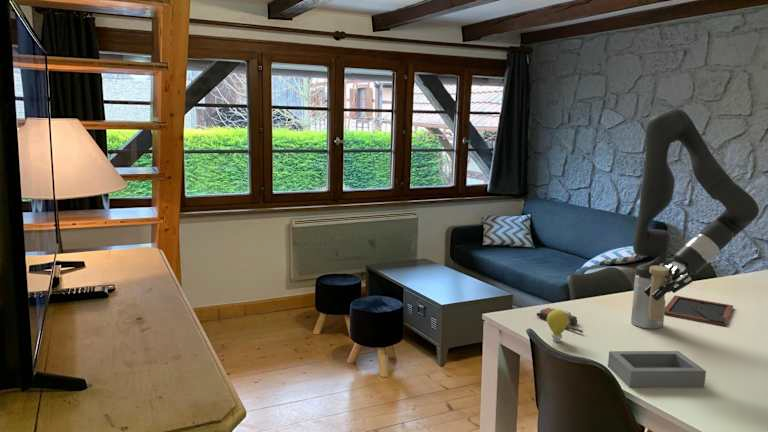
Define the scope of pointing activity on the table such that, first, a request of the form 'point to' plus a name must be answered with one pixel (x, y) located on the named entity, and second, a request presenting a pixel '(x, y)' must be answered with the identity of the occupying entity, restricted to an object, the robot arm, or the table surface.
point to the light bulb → (557, 323)
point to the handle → (657, 281)
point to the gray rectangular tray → (656, 369)
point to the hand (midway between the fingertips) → (650, 295)
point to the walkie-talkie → (572, 319)
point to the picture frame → (699, 310)
